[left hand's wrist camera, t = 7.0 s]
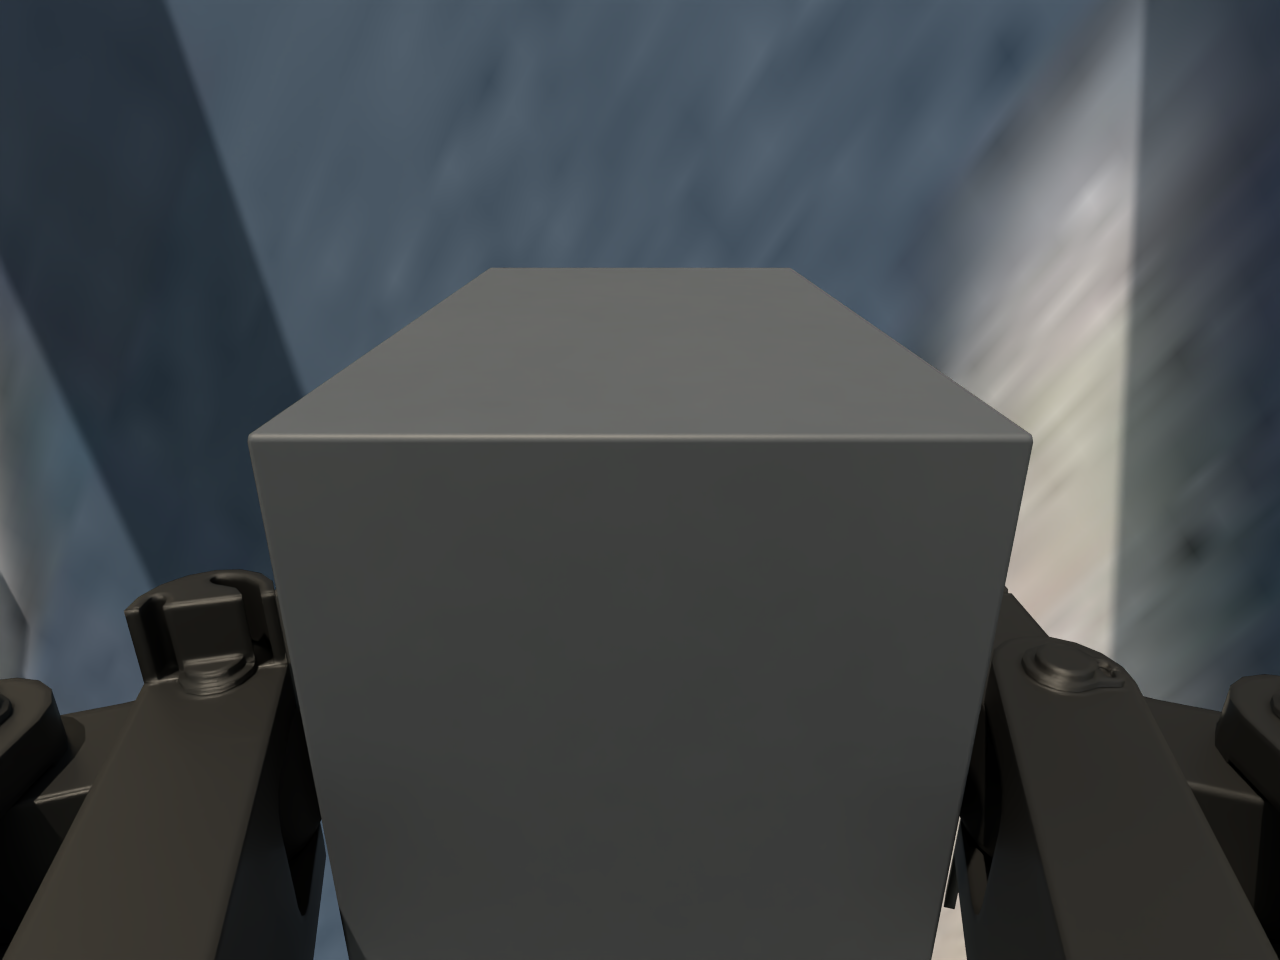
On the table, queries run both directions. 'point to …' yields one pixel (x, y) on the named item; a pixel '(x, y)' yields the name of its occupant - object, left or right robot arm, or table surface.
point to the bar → (640, 619)
